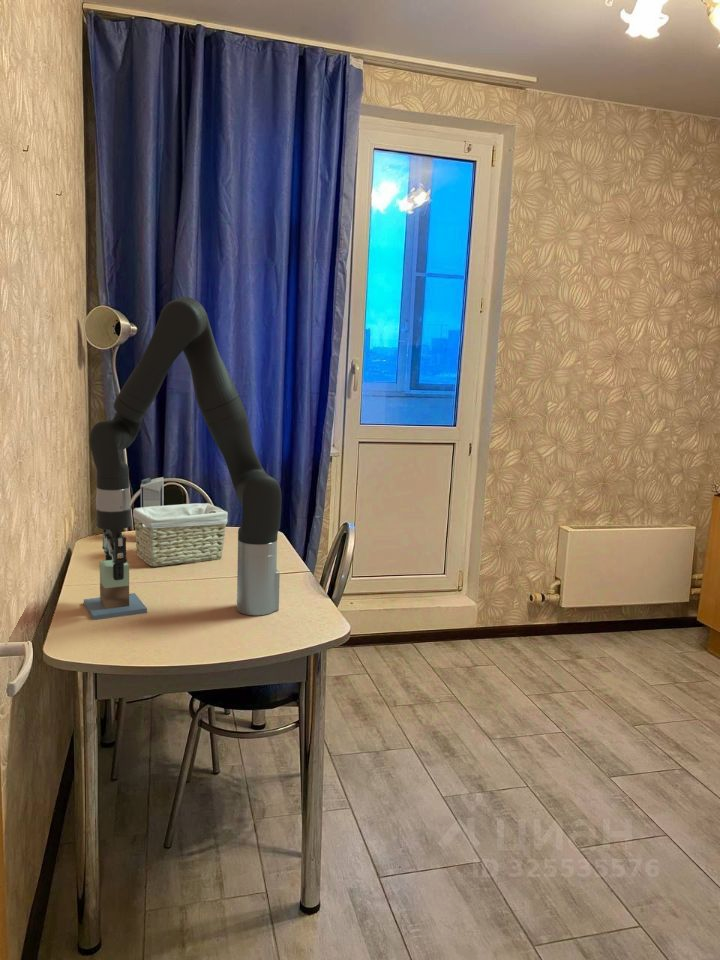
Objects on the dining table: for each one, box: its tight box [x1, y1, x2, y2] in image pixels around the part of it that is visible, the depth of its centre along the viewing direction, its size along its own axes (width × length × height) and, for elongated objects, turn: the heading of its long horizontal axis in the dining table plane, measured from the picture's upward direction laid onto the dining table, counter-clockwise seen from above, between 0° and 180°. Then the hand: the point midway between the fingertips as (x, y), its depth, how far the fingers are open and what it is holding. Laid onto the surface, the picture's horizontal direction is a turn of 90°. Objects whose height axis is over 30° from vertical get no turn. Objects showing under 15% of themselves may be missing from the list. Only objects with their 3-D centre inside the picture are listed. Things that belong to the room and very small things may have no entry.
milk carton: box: [140, 476, 165, 508], centre depth 235 cm, size 7×7×20 cm
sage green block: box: [99, 560, 130, 588], centre depth 173 cm, size 6×6×5 cm
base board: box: [83, 592, 148, 621], centre depth 174 cm, size 12×12×1 cm
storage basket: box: [132, 502, 229, 568], centre depth 217 cm, size 24×16×15 cm
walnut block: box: [99, 581, 130, 609], centre depth 174 cm, size 6×6×5 cm
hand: (114, 574), depth 173 cm, fingers open, 8 cm apart
